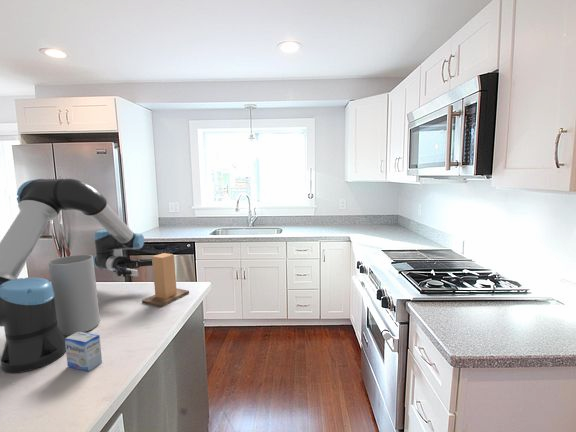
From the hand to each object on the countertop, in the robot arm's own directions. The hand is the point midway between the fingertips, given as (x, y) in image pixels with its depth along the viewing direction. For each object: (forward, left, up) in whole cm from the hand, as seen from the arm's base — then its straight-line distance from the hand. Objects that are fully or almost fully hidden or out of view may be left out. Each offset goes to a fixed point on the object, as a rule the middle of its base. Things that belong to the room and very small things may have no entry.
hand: (150, 268), depth 134 cm
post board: (-6, -6, -12) cm, 15 cm away
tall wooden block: (-6, -6, -11) cm, 14 cm away
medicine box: (-49, +14, -12) cm, 52 cm away
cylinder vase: (-23, +22, -12) cm, 34 cm away
